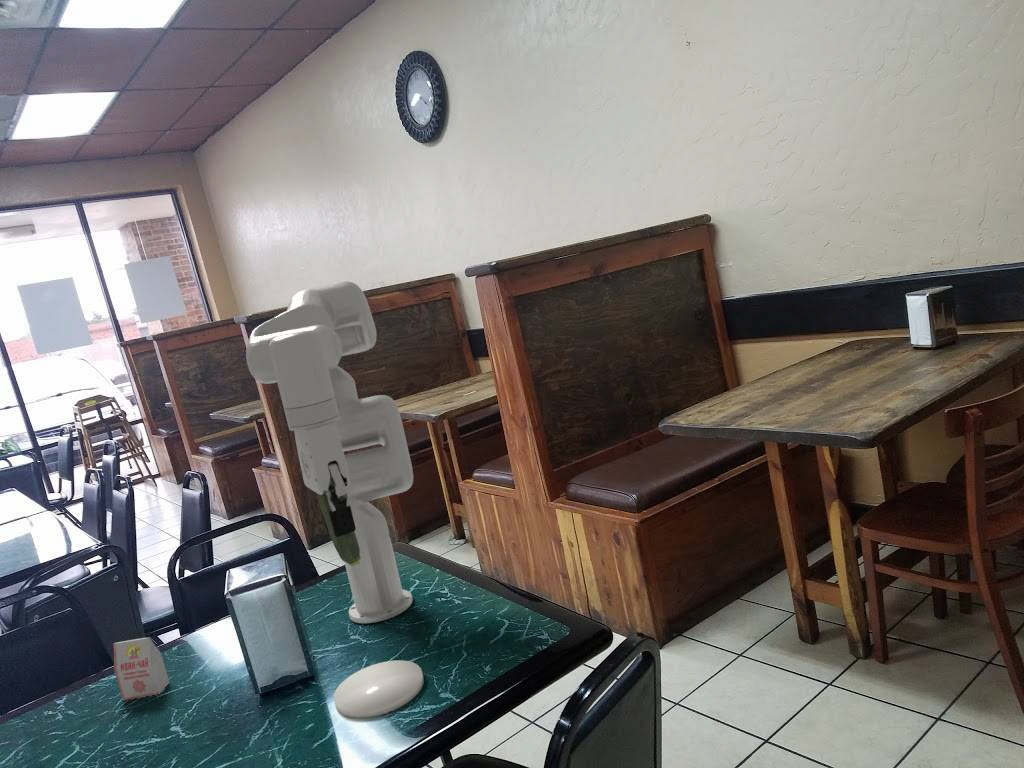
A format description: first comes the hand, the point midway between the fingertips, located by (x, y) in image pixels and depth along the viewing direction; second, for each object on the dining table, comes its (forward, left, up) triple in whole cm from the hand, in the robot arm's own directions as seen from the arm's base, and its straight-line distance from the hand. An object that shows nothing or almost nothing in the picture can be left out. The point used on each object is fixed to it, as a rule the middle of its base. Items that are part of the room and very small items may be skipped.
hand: (340, 529), depth 119 cm
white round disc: (0, 0, -27) cm, 27 cm away
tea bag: (-35, -32, -27) cm, 55 cm away
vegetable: (0, 0, -7) cm, 7 cm away
